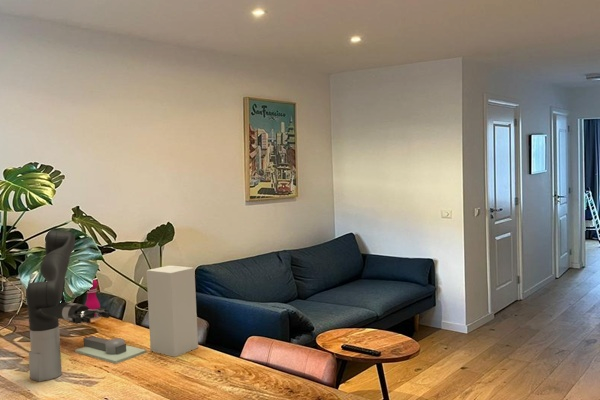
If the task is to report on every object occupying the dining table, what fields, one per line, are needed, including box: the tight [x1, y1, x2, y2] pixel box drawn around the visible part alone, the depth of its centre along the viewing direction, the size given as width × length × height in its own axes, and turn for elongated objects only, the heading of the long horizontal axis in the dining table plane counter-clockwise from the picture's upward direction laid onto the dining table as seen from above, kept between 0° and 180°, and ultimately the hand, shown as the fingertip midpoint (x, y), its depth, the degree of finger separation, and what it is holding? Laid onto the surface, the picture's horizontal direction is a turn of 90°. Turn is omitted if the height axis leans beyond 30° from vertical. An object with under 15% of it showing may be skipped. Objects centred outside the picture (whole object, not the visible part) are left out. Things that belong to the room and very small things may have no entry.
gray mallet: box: [82, 335, 127, 355], centre depth 213 cm, size 7×22×4 cm, turn 55°
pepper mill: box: [84, 279, 101, 316], centre depth 269 cm, size 7×7×20 cm
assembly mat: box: [74, 344, 147, 365], centre depth 211 cm, size 14×26×1 cm, turn 55°
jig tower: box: [146, 264, 199, 358], centre depth 211 cm, size 12×14×32 cm
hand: (99, 317), depth 214 cm, fingers open, 8 cm apart
